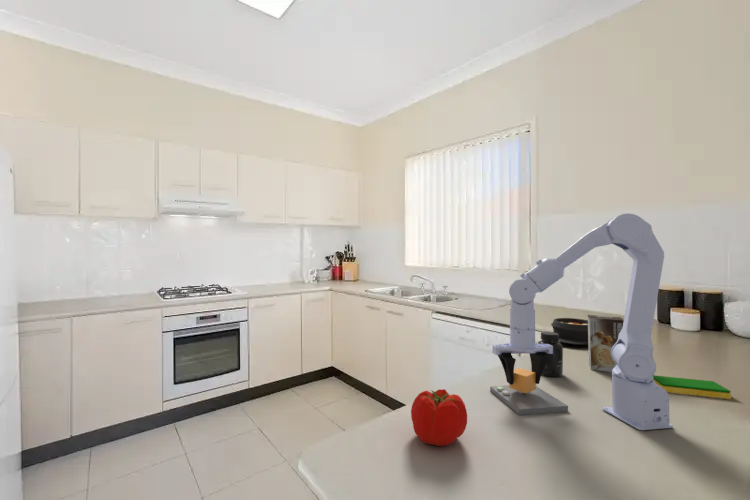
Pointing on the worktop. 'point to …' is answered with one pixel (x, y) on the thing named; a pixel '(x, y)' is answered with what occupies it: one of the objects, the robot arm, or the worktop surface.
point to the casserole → (571, 330)
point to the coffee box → (602, 341)
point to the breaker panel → (528, 400)
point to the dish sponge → (692, 387)
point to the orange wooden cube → (524, 380)
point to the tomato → (438, 417)
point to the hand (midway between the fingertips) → (522, 382)
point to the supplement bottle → (553, 355)
